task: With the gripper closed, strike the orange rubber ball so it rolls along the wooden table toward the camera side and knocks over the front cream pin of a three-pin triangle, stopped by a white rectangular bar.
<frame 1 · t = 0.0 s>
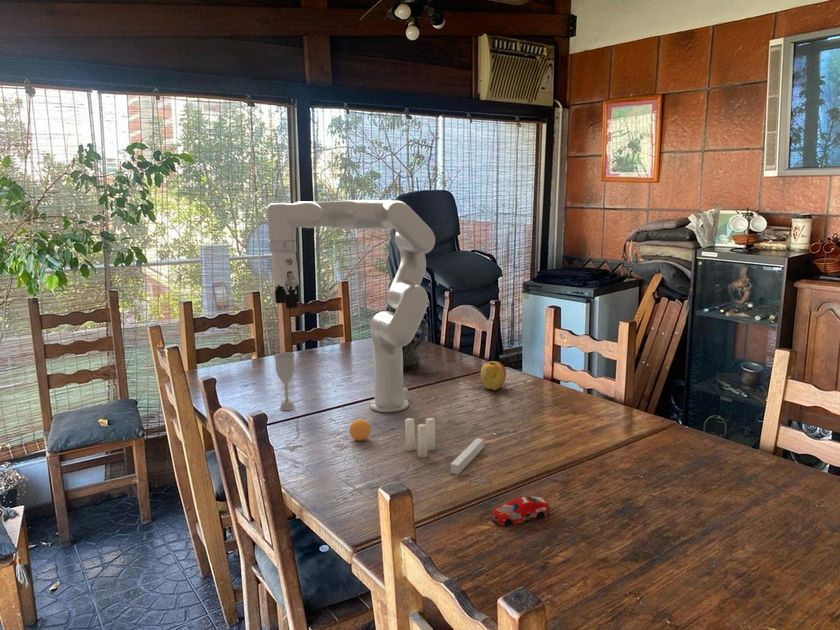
hand: (286, 305, 182), 37 cm above the table, tool pointing down, fingers open, 9 cm apart
beer stein: (402, 366, 252), on the table
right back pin: (422, 455, 167), on the table
white rectangular bar: (467, 459, 164), on the table
left back pin: (430, 448, 171), on the table
ball: (360, 429, 177), on the table
apple: (493, 389, 222), on the table
chalice: (287, 408, 205), on the table
race car: (520, 518, 135), on the table
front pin: (410, 449, 171), on the table
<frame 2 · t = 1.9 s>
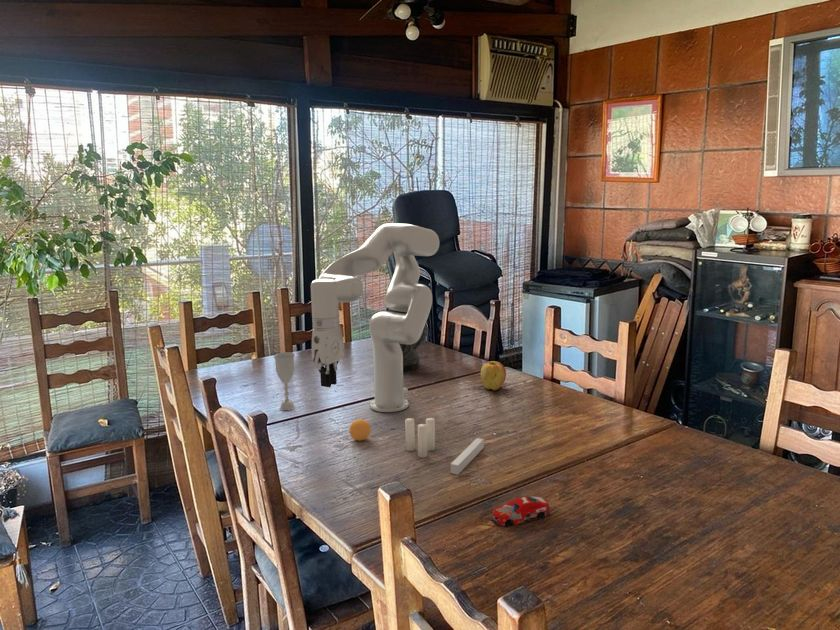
hand: (328, 384, 179), 15 cm above the table, tool pointing down, fingers closed
nothing on the table moved.
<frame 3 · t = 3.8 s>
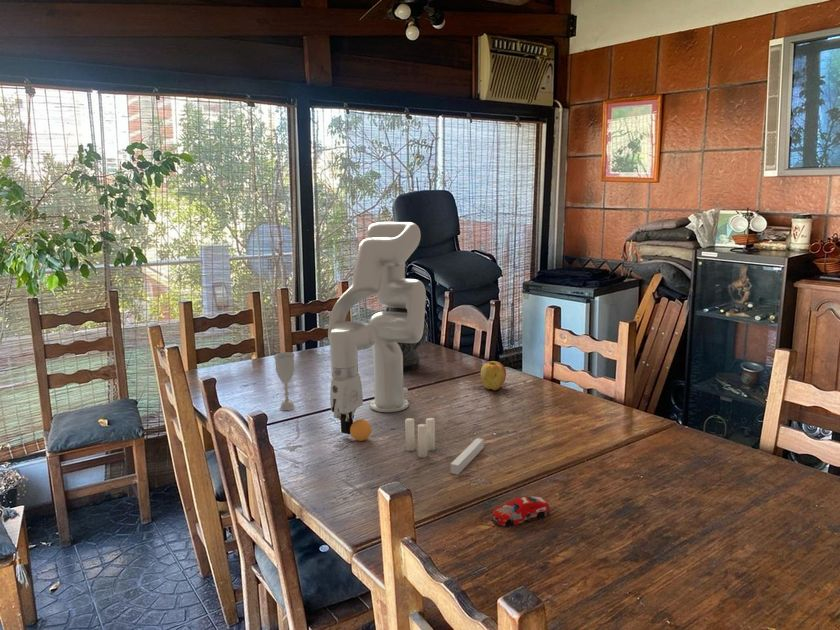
hand: (347, 432, 179), 2 cm above the table, tool pointing down, fingers closed
ball: (360, 430, 177), on the table, touching gripper
everything else where it was.
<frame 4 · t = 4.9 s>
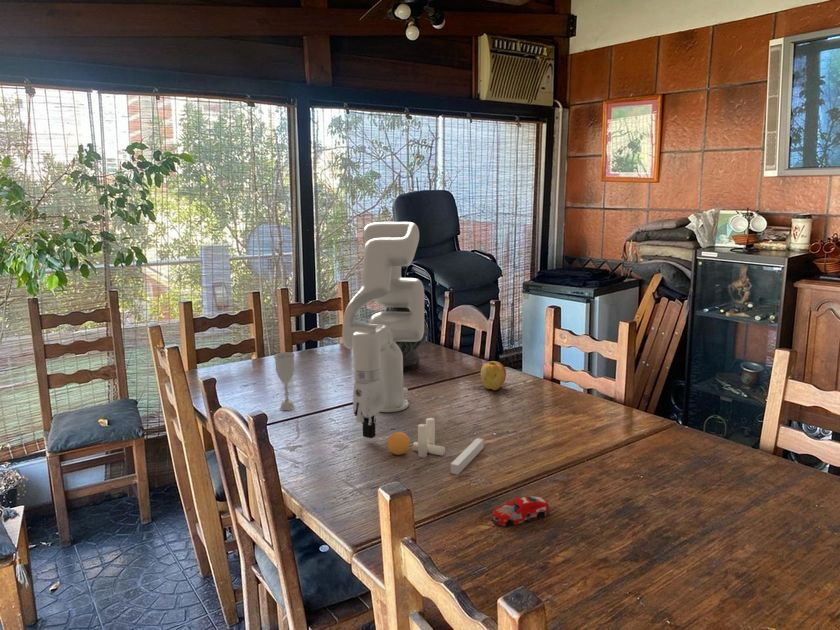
hand: (369, 436, 176), 2 cm above the table, tool pointing down, fingers closed
ball: (398, 443, 168), on the table
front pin: (414, 446, 170), point 1 cm above the table, tilted 90°
everything else where it was.
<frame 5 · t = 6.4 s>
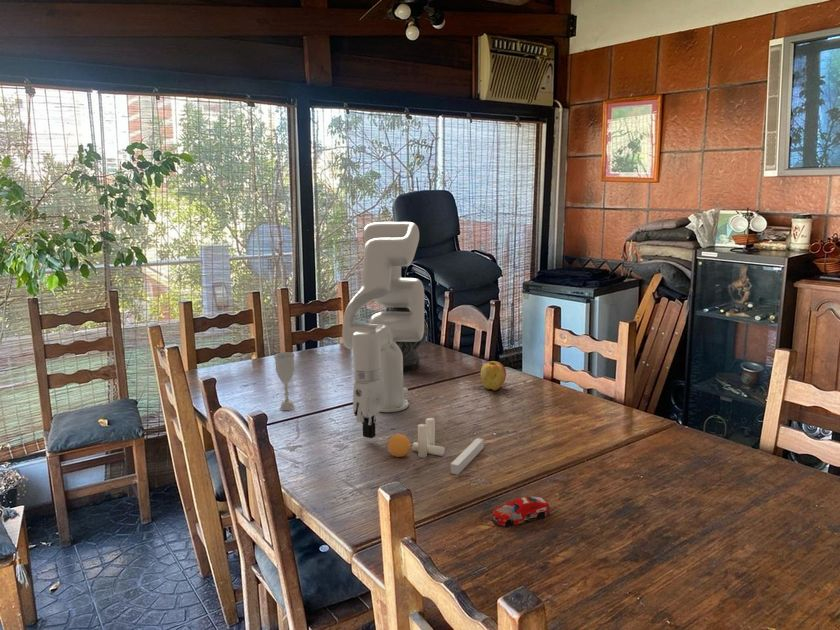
hand: (369, 436, 176), 2 cm above the table, tool pointing down, fingers closed
ball: (399, 445, 166), on the table
everything else where it was.
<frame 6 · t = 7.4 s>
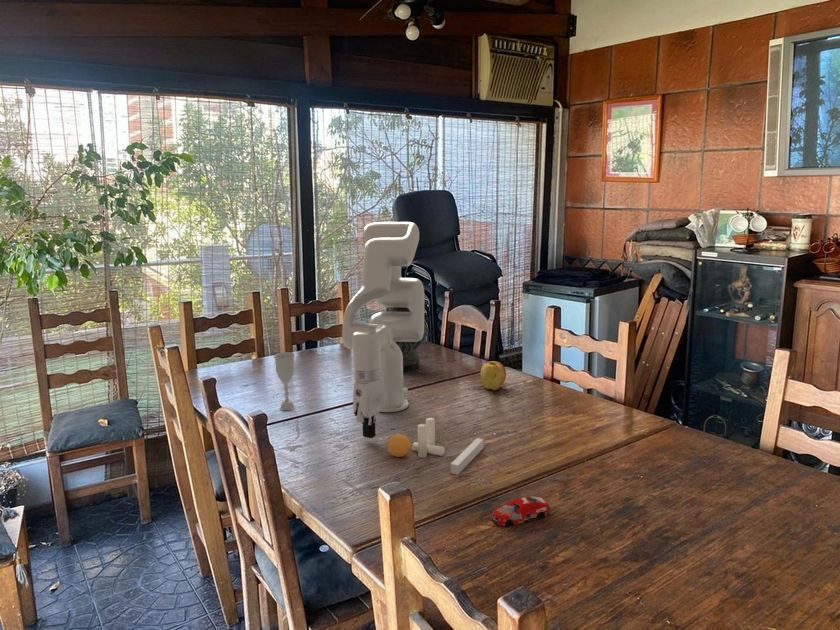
hand: (369, 436, 176), 2 cm above the table, tool pointing down, fingers closed
nothing on the table moved.
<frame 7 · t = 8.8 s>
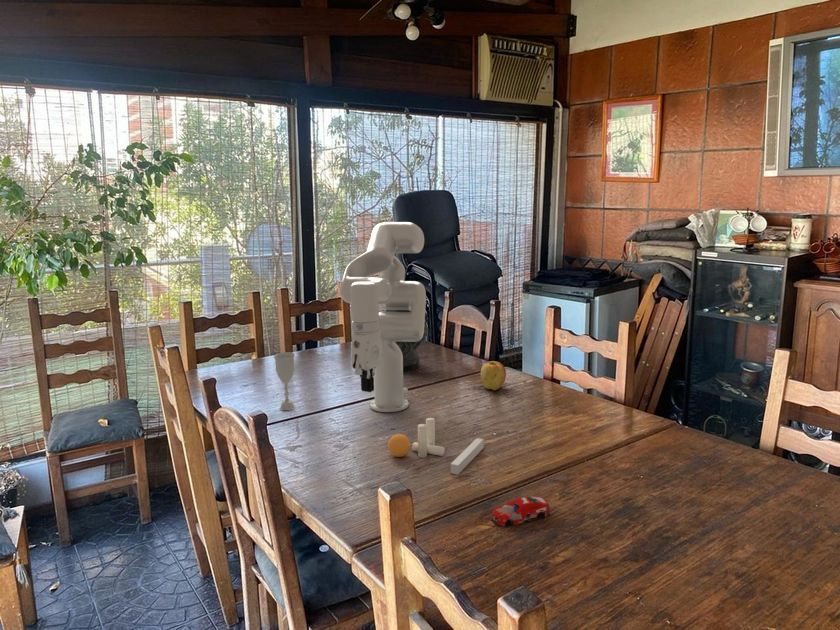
hand: (367, 390, 174), 15 cm above the table, tool pointing down, fingers closed
nothing on the table moved.
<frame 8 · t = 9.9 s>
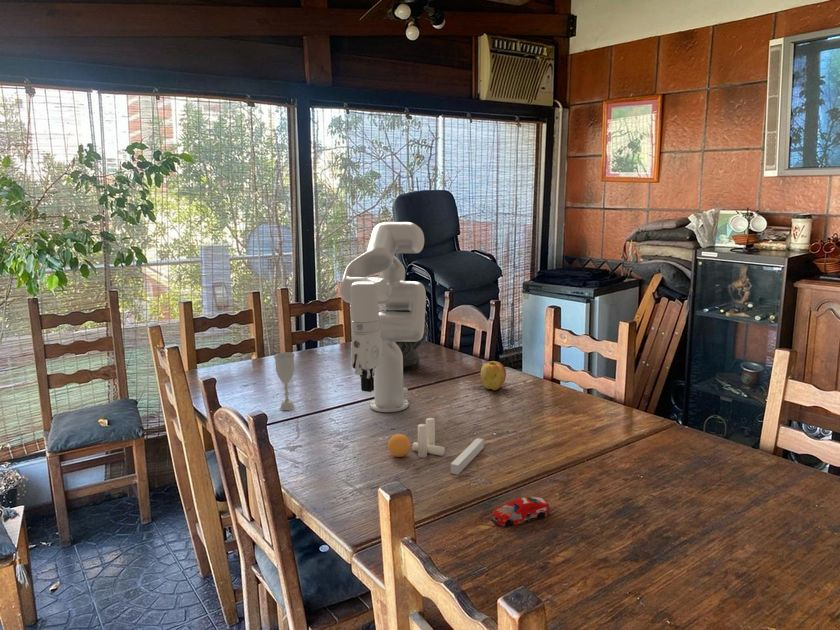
hand: (367, 390, 174), 15 cm above the table, tool pointing down, fingers closed
nothing on the table moved.
at the end: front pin tilted 90°; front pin never touched the robot; ball moved 16.2 cm from its start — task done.
